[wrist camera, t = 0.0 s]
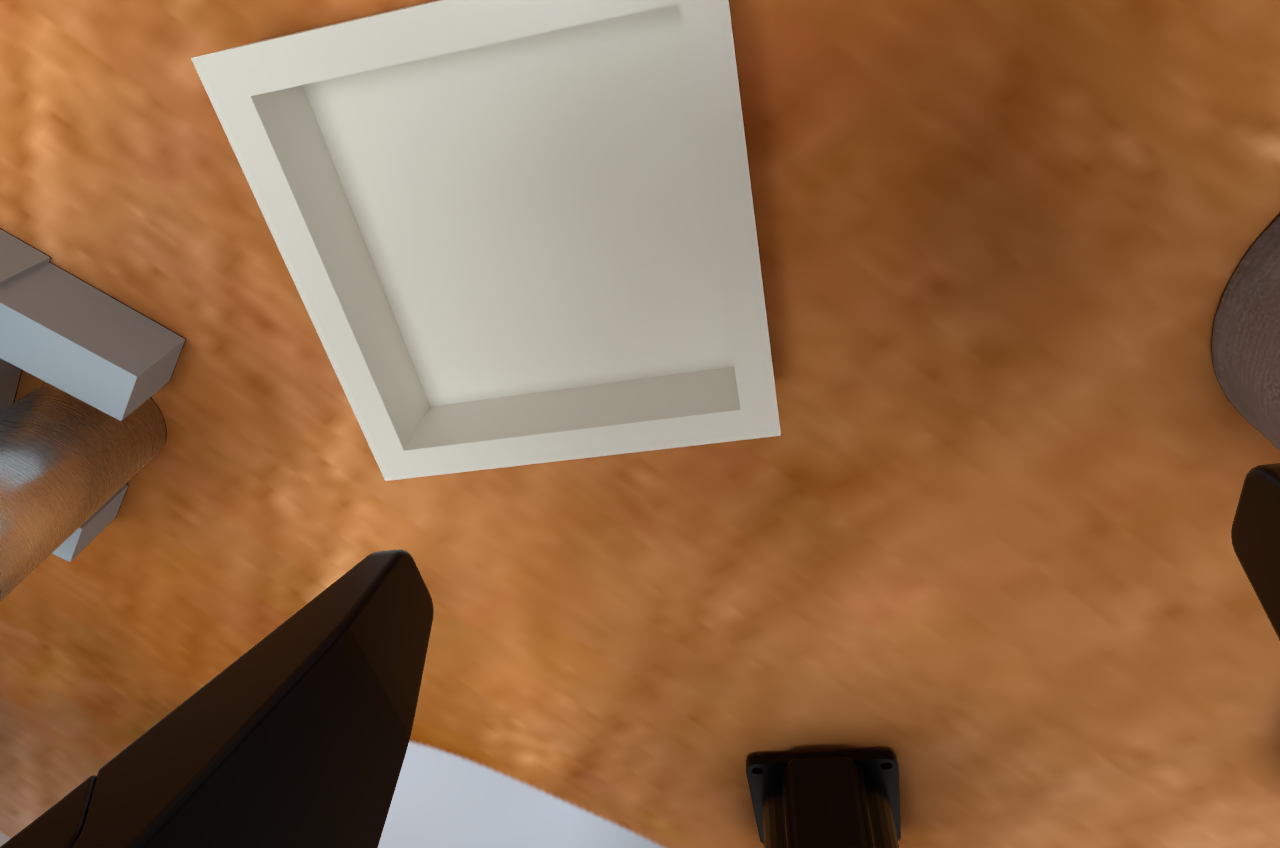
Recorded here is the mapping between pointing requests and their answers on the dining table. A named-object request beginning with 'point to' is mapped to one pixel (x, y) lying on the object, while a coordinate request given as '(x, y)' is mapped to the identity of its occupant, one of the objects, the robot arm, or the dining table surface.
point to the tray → (515, 224)
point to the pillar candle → (1252, 336)
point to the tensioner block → (77, 350)
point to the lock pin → (62, 471)
